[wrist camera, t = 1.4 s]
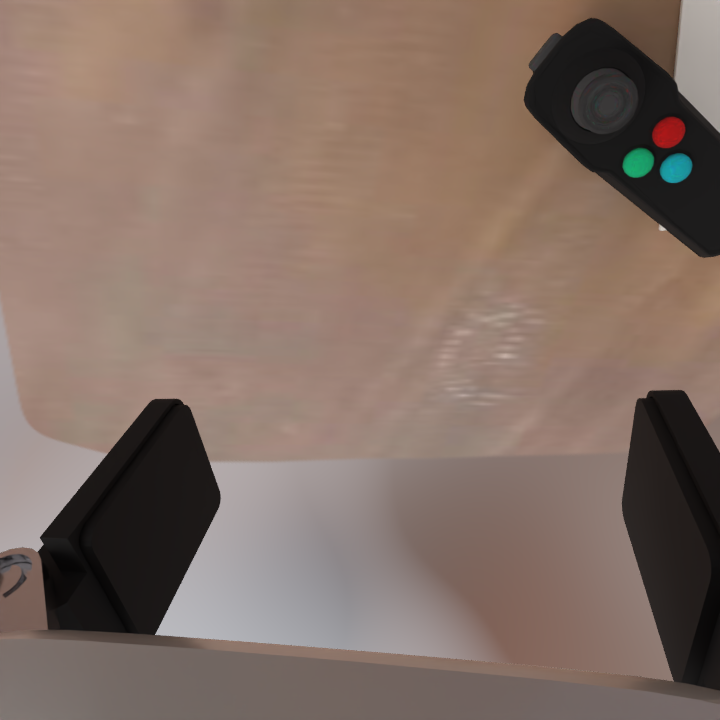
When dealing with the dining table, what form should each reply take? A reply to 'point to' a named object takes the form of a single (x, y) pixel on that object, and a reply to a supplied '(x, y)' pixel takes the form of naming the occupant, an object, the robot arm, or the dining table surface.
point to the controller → (631, 129)
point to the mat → (699, 58)
